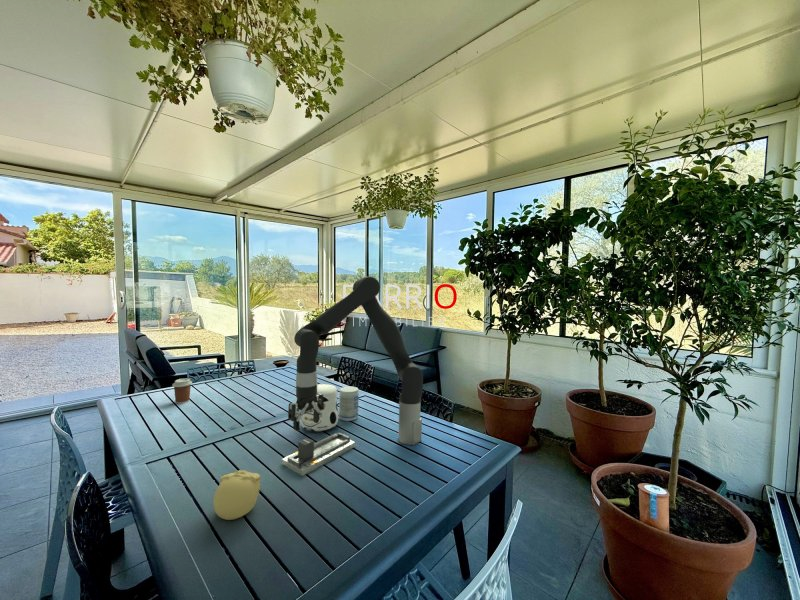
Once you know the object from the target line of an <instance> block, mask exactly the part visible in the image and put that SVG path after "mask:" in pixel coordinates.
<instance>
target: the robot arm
mask: <svg viewBox="0 0 800 600" xmlns="http://www.w3.org/2000/svg"><path fill="white" fill-rule="evenodd" d="M380 290H381V285H380V282H379V280H378V279H377V278H376V277H374V276H364V277H361V278H359V279H357V280H355V282H354V283H353V285H352V291H351V292H350V293H349V294H348V295H346V296H345V297H344V298H342V299H341V300H339V301H338V302H337V303H335V304H333V305H332V306H330V307H329V308H327V310H325V311H323V312H322V313H321V314H320V315H319V316H318V317H317V318H315V319H314V320H312V321H310V322H308V323H307V324H306V325H304V326H302V327H301V328H300V329H298V330H297V332H295V335H294V340H293V341H294V343H295V345H297V346H298V347H299V355H298V356H297V358H296V376H295V396H296V402H293V403H292V402H289V404H288V411H287V412H288V414H287V416H288V417H287V419H288V420H289V421H291V422H292V423H293V425H292V427H293V430H294V431H296V432H300V427H301V426H300V424H301V416H302V415H303V414H304V412H307V411H308V410H312V409H313V411H314V412H313V421H314V422H315V423H318V422H319V413H320V411H321V410H323V409H324V399H323V395H322V394H317V385H318V373H317V357H318V354H319V347H320V339H319V337H321V336H322V335H324V334H328V333H330V332H331V331H332V330H333V329H334V328H336V327H337V326H338V325H339V324H340V323H342V321H344V320H345V318H347V317H348V316H349V315H351V314H352V313H353V312H354V311H355V310H357V309H358V308H359V307H361V308H362V309H363V311H364V312H365V313H366V315H367V317H368V320H369V322H370V324H371V326H372V327H373V329H374V331H375V333H376V336H377V338H378V339H379V341H380V343H381V344H382V346H383V348H384V349H385V352H386V353H387V354H388V355H389V357H390V358H391V360H392V362H393V366H394V367H395V370H396V373H397V375H398V378H399V380H400V381H401V382H402V383H401V393H399V403H398V405H399V407H398V409H399V410H398V442H400V443H401V444H404V445H407V446H408V445H409V446H410V445H412V446H415V445H417V444H418V443H419V442H421V441H422V433H423V431H422V430H423V427H422V426H423V422H422V421H423V419H422V418H421V400H422V399H421V398H422V395H423V388H424V385H423V384H424V375H423V374H424V373H423V371H422V370H421V368H420V367H418V365H416V364H415V363H414V362H413V360H412V359H411V357H410V355H409V354H408V352H407V350H406V348H405V342H404V338H403V335H402V333H401V331H400V329H399V327H398V325H397V323H396V321H395V320H394V319H393V317H392V316H390V314H389V313H388V312H387V311H386V310H385V308H383V307H382V306H381V304H380V302H379V301H378V299H377V296H378V294H379V292H380ZM316 400H317V405H316V404H315V403H316Z"/></svg>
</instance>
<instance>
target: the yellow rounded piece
mask: <svg viewBox="0 0 800 600" xmlns="http://www.w3.org/2000/svg"><path fill="white" fill-rule="evenodd" d="M261 478H262V476H261V474H259V473H256V472H249V471H247V470H245V469H239V470H237V471H235V472H232V473H228V474H225V475H222V476H221V477H220V483H219V485H218V486H217V488H216V490H215V493H214V497H213V502H212V503H213V509H214V512H215V514H216V515H217V516H218V517H219V518H221V519H223V520H228V521H231V520H237V519H239V518H242V517H243V516H245V515H247V514H248V513H249V512H250V511H251V510H252V509H253V508H254V506H255V505H256V503H257V500H258V497H259V494H260V489H261Z"/></svg>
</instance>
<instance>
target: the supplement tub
mask: <svg viewBox="0 0 800 600" xmlns="http://www.w3.org/2000/svg"><path fill="white" fill-rule="evenodd" d="M359 395H360V394H359V388H358V387H356V386H343V387H341V388H339V406H338V407H339V409H338V414H339V417H338V418H339V419H340V420H342V421H345V422H351V421H355V420H356V419H358V417H359Z"/></svg>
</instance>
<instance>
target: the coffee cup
mask: <svg viewBox="0 0 800 600" xmlns="http://www.w3.org/2000/svg"><path fill="white" fill-rule="evenodd" d="M192 384H193V381H191V379H190V378H179V379H176V380H174V383H172V387H173V389H174V391H173V392H174V398H175V399H174V401H175V404H179V405H180V404H185V403H188V402H190V396H191V385H192Z"/></svg>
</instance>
